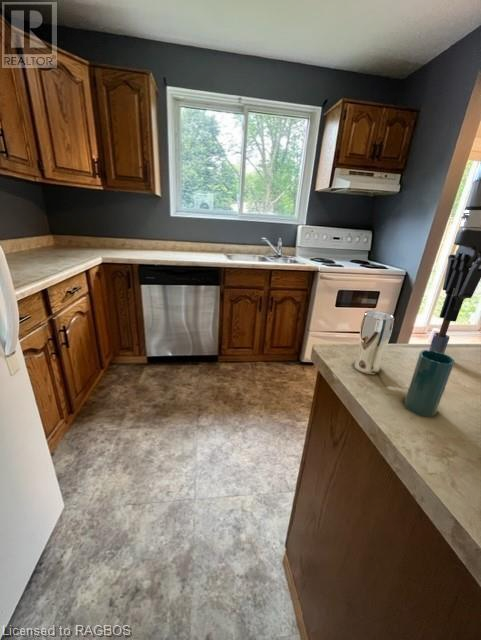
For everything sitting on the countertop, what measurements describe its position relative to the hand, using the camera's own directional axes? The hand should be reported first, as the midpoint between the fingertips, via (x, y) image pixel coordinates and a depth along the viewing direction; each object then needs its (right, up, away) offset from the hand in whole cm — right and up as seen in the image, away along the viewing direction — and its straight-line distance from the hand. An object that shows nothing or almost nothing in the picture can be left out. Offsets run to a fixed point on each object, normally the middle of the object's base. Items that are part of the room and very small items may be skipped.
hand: (447, 319), depth 75 cm
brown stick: (-1, -11, +4) cm, 11 cm away
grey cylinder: (-1, -11, +4) cm, 12 cm away
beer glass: (-24, -13, -4) cm, 28 cm away
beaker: (-20, -19, -18) cm, 33 cm away
